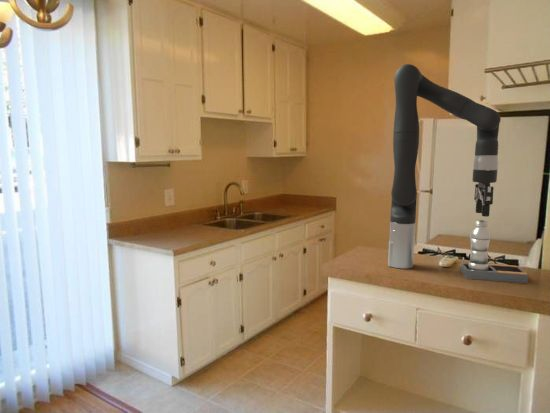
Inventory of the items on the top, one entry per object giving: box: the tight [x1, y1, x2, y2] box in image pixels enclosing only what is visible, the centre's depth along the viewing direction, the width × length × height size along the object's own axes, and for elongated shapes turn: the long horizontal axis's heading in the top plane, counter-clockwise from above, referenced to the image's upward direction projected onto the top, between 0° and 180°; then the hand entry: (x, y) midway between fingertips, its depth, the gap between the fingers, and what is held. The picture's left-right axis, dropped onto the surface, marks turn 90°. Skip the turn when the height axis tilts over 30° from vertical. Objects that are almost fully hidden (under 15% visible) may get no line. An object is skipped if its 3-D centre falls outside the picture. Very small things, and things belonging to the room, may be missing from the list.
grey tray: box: [459, 262, 529, 284], centre depth 141 cm, size 19×10×3 cm, turn 76°
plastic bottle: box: [468, 219, 491, 271], centre depth 141 cm, size 6×7×20 cm
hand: (482, 214), depth 140 cm, fingers open, 8 cm apart
